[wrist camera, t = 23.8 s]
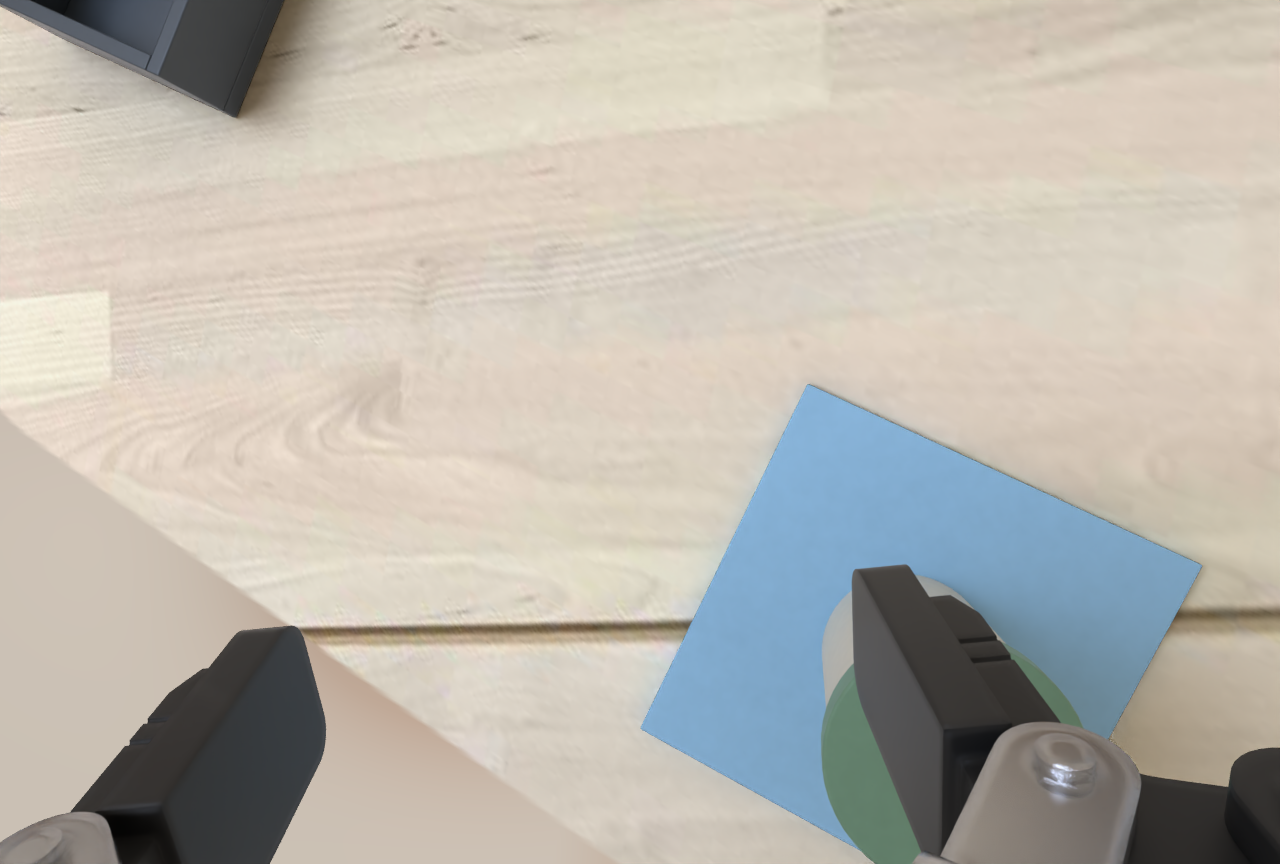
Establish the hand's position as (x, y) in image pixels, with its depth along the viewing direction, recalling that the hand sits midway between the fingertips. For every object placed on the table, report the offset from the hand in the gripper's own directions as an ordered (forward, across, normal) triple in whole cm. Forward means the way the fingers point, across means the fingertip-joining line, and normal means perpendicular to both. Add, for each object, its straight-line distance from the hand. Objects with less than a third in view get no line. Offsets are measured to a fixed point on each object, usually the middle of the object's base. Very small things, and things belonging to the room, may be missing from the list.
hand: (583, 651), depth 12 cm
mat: (+15, +9, -11) cm, 21 cm away
